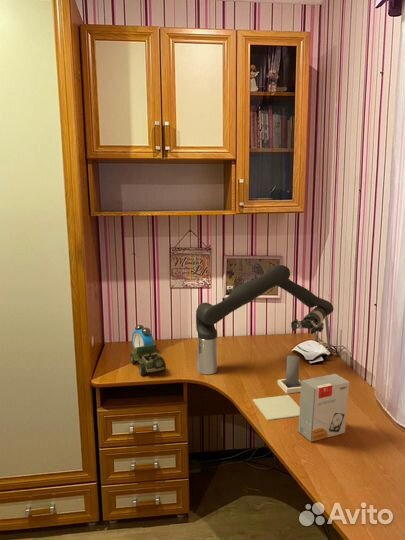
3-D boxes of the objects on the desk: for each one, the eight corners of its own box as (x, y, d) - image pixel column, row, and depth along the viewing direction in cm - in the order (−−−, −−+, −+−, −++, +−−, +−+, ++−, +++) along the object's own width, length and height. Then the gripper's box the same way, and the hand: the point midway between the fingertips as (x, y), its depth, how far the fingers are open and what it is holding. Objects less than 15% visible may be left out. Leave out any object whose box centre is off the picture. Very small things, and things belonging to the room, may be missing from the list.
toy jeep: (152, 357, 220) (151, 337, 218) (168, 375, 198) (168, 353, 196) (129, 361, 215) (128, 340, 213) (144, 380, 193) (143, 358, 191)
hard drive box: (310, 443, 144) (313, 389, 141) (297, 431, 151) (299, 380, 147) (346, 433, 150) (349, 381, 147) (331, 422, 157) (334, 372, 154)
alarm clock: (132, 351, 228) (131, 324, 225) (141, 348, 232) (141, 322, 229) (144, 358, 218) (144, 330, 215) (154, 355, 222) (154, 328, 219)
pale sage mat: (267, 420, 158) (267, 419, 158) (252, 400, 174) (252, 399, 174) (306, 415, 162) (306, 414, 162) (288, 396, 177) (288, 395, 177)
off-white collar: (286, 393, 180) (286, 389, 179) (277, 383, 189) (277, 379, 188) (306, 391, 182) (307, 386, 181) (297, 381, 191) (297, 377, 191)
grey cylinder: (288, 391, 182) (290, 360, 179) (283, 385, 187) (284, 355, 185) (300, 389, 183) (301, 359, 181) (294, 384, 189) (296, 354, 186)
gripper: (299, 310, 206) (287, 320, 193) (328, 314, 199) (318, 325, 186) (299, 325, 208) (287, 335, 195) (327, 329, 201) (317, 340, 187)
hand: (302, 330), depth 190 cm, fingers open, 8 cm apart
